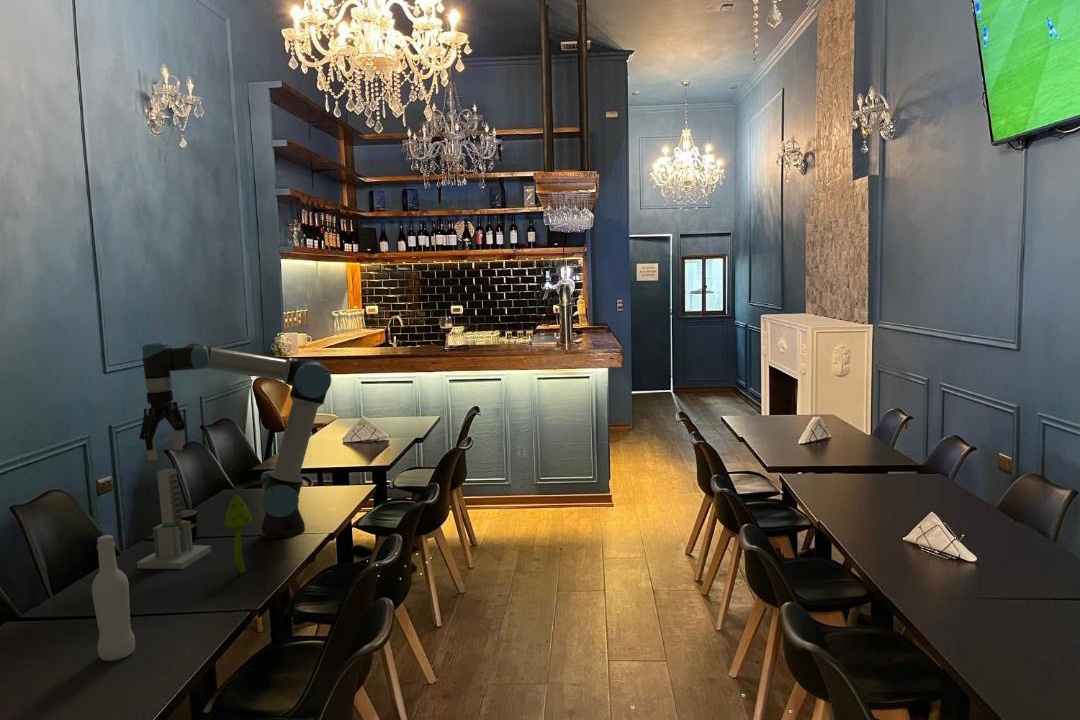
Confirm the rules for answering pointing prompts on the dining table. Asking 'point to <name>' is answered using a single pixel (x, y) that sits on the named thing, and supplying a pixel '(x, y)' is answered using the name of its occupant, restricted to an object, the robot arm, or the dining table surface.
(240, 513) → the mushroom
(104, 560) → the bottle
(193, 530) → the mug
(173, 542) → the stand base
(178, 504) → the column
